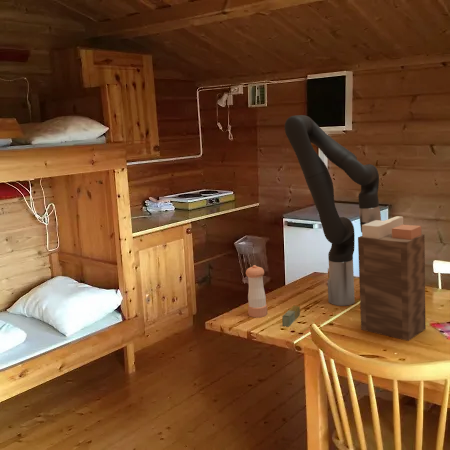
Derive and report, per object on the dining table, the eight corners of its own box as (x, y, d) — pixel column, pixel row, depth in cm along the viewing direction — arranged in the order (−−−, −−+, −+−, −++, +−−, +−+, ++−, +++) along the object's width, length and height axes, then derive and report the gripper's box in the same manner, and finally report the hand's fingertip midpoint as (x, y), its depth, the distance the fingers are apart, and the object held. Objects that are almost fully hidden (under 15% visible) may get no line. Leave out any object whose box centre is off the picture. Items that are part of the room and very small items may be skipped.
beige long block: (392, 225, 193) (391, 214, 192) (408, 226, 188) (408, 215, 188) (362, 237, 179) (361, 225, 178) (378, 238, 175) (378, 226, 174)
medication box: (289, 327, 192) (288, 316, 192) (282, 326, 194) (281, 315, 193) (300, 315, 203) (300, 305, 202) (293, 315, 204) (293, 304, 203)
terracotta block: (402, 233, 179) (402, 224, 179) (421, 235, 175) (421, 226, 174) (392, 237, 175) (391, 228, 174) (411, 239, 170) (411, 230, 169)
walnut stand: (379, 318, 193) (376, 230, 187) (425, 328, 181) (424, 234, 175) (361, 329, 185) (357, 237, 179) (408, 340, 173) (406, 242, 167)
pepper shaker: (244, 315, 207) (240, 266, 204) (256, 309, 213) (253, 261, 209) (259, 318, 202) (255, 269, 199) (271, 312, 208) (268, 264, 204)
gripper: (367, 216, 208) (371, 257, 210) (353, 223, 196) (357, 267, 199) (386, 215, 203) (390, 257, 206) (373, 222, 192) (377, 267, 194)
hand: (374, 262), depth 202 cm, fingers open, 8 cm apart
